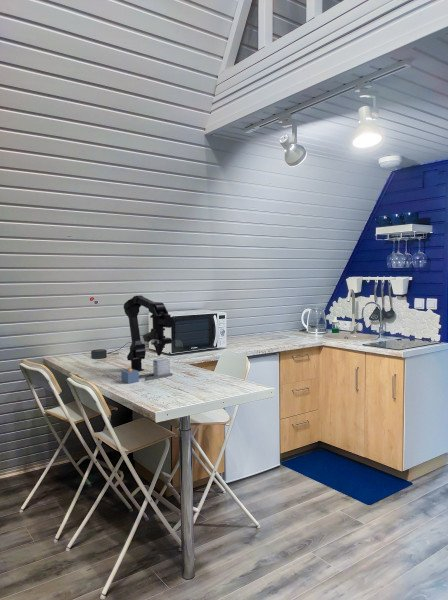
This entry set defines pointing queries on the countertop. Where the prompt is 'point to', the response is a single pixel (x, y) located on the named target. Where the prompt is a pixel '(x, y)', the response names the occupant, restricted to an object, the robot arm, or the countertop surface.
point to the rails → (154, 376)
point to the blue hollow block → (130, 376)
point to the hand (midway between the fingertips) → (158, 355)
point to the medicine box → (161, 366)
